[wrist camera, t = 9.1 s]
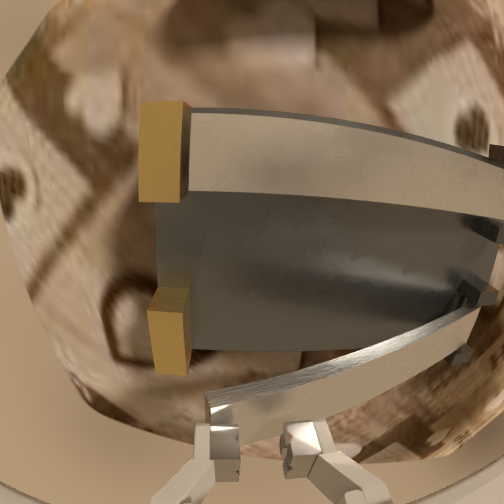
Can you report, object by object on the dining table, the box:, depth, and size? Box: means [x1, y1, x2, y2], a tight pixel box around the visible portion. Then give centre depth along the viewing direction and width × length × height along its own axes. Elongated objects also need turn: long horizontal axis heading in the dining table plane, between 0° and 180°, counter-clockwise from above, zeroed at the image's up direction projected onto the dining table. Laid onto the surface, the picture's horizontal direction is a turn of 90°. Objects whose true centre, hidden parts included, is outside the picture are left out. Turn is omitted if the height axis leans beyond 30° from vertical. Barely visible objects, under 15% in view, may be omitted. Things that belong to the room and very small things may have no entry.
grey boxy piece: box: [138, 101, 504, 376], centre depth 17 cm, size 22×15×8 cm
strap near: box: [189, 113, 504, 220], centre depth 12 cm, size 18×3×1 cm, turn 87°
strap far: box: [204, 299, 481, 446], centre depth 13 cm, size 18×3×1 cm, turn 87°
